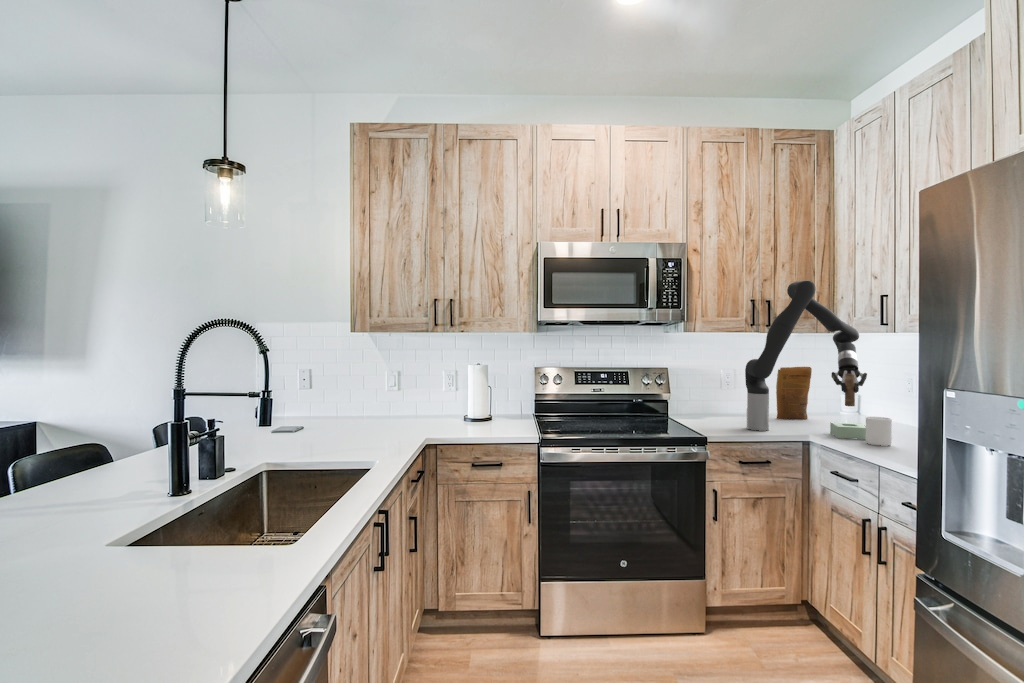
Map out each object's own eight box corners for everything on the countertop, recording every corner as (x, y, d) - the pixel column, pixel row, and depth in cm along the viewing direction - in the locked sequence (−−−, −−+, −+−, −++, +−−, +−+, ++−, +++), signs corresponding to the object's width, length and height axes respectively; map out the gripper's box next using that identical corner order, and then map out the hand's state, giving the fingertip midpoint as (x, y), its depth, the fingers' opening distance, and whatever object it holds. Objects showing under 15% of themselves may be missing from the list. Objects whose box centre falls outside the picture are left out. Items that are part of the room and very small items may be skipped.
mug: (877, 440, 218) (877, 415, 218) (896, 446, 206) (896, 419, 206) (856, 440, 219) (856, 415, 218) (873, 446, 207) (874, 419, 206)
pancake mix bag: (814, 420, 271) (815, 366, 271) (778, 419, 272) (778, 366, 272) (808, 418, 278) (808, 366, 278) (772, 417, 279) (772, 366, 278)
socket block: (837, 438, 223) (837, 426, 223) (830, 433, 234) (830, 422, 234) (870, 439, 219) (870, 428, 219) (861, 434, 231) (861, 423, 231)
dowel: (846, 406, 226) (846, 374, 225) (843, 405, 229) (843, 373, 229) (855, 406, 224) (855, 374, 224) (853, 405, 228) (853, 373, 228)
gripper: (830, 356, 236) (831, 385, 226) (867, 357, 230) (870, 386, 219) (829, 367, 241) (830, 396, 231) (865, 368, 234) (869, 397, 224)
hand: (850, 391), depth 225 cm, fingers closed on dowel, 3 cm apart
